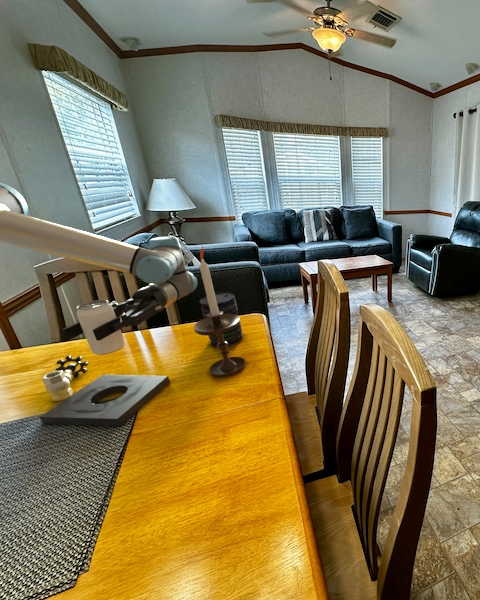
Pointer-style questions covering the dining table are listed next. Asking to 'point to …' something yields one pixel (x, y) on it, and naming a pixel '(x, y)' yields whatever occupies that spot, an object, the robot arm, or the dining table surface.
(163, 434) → the dining table surface
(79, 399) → the plate
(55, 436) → the dining table surface
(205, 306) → the storage jar
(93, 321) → the can
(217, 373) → the candlestick
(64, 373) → the valve
